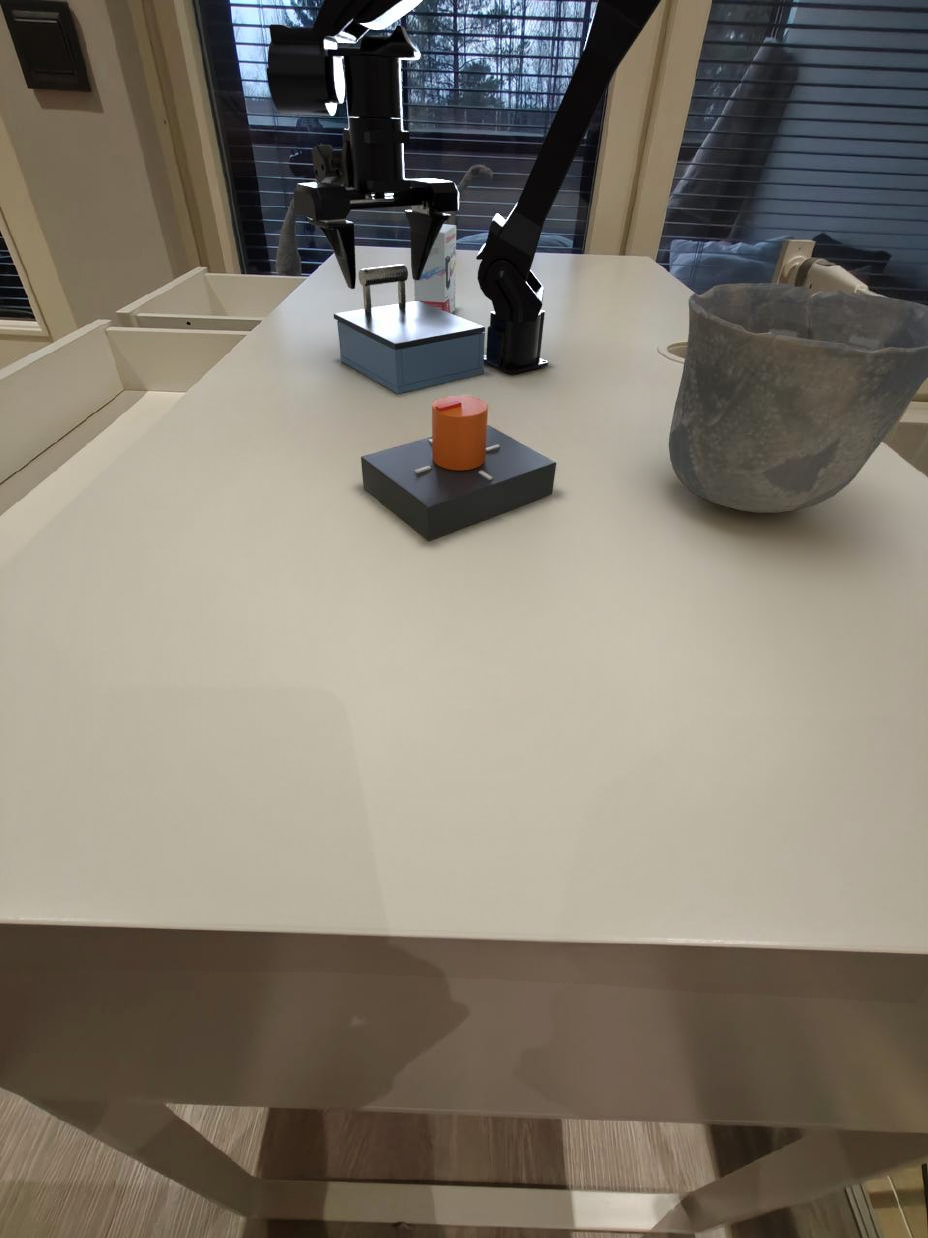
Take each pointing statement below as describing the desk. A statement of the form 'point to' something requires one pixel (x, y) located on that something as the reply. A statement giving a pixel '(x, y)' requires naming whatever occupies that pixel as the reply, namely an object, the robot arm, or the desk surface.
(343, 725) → the desk surface
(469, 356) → the blue open box
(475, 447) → the dial
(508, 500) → the control panel
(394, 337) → the lid
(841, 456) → the grey stone pot
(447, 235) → the ink box
